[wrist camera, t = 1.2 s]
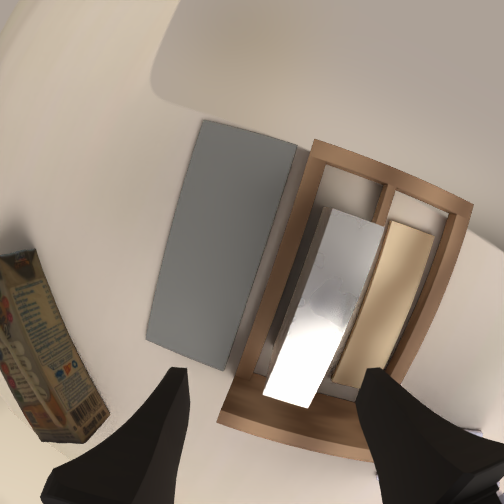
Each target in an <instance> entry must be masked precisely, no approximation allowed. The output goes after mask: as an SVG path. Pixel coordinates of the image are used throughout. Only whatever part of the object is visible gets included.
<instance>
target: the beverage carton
mask: <svg viewBox="0 0 504 504" xmlns="http://www.w3.org/2000/svg"><path fill="white" fill-rule="evenodd" d="M0 370H1V372H2V374H3V376H4V378H5V380H6V382H7V384H8V386H9V388H10V390H11V392H12V394H13V396H14V398H15V399H16V401H17V403H18V405H19V407H20V408H21V410H22V412H23V414H24V416H25V417H26V419H27V420H28V422H29V424H30V425H31V427H32V428H33V430H34V432H35V433H36V434H37V435H38V437H39V439H40V440H41V442H56V443H75V444H84V443H86V442H87V441H88V440H89V438H90V437H91V436H92V435H93V434H94V433H95V432H96V431H97V429H98V428H99V427H100V426H101V425H102V424H103V423H104V422H105V420H106V419H107V418H108V417H109V416H110V413H109V411H108V410H107V408H106V406H105V404H104V402H103V401H102V399H101V397H100V396H99V394H98V392H97V390H96V388H95V387H94V385H93V383H92V381H91V379H90V377H89V375H88V373H87V371H86V370H85V368H84V366H83V364H82V362H81V360H80V357H79V356H78V354H77V352H76V349H75V347H74V345H73V343H72V341H71V339H70V336H69V334H68V332H67V329H66V327H65V325H64V323H63V320H62V318H61V316H60V313H59V311H58V308H57V306H56V303H55V301H54V298H53V296H52V293H51V290H50V288H49V285H48V282H47V280H46V277H45V275H44V272H43V270H42V267H41V264H40V261H39V258H38V255H37V252H36V249H31V250H21V251H16V252H14V253H10V254H4V255H0Z"/></svg>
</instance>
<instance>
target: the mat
mask: <svg viewBox="0 0 504 504" xmlns="http://www.w3.org/2000/svg"><path fill="white" fill-rule="evenodd" d="M296 149H297V145H296V144H292V143H289V142H286V141H282V140H279V139H276V138H272V137H269V136H265V135H262V134H258V133H254V132H251V131H247V130H243V129H239V128H235V127H232V126H228V125H224V124H219V123H215V122H211V121H207V120H203V123H202V126H201V129H200V132H199V135H198V138H197V141H196V145H195V148H194V151H193V154H192V157H191V160H190V164H189V167H188V170H187V173H186V177H185V180H184V183H183V187H182V190H181V194H180V197H179V201H178V204H177V208H176V211H175V215H174V219H173V222H172V226H171V230H170V234H169V237H168V241H167V245H166V249H165V253H164V257H163V261H162V265H161V269H160V274H159V278H158V282H157V287H156V291H155V296H154V300H153V305H152V309H151V314H150V319H149V324H148V329H147V334H146V340H148V341H150V342H152V343H155V344H157V345H159V346H161V347H164V348H166V349H168V350H171V351H173V352H175V353H178V354H180V355H183V356H185V357H188V358H190V359H193V360H195V361H198V362H200V363H203V364H205V365H208V366H210V367H213V368H216V369H218V370H221V371H224V369H225V366H226V363H227V360H228V357H229V354H230V351H231V348H232V345H233V342H234V339H235V336H236V333H237V330H238V327H239V324H240V321H241V318H242V315H243V312H244V309H245V306H246V303H247V300H248V297H249V294H250V291H251V288H252V285H253V282H254V279H255V276H256V273H257V270H258V267H259V264H260V261H261V258H262V255H263V252H264V249H265V246H266V243H267V239H268V236H269V233H270V230H271V227H272V224H273V221H274V218H275V215H276V212H277V209H278V206H279V202H280V199H281V196H282V193H283V190H284V187H285V184H286V181H287V178H288V174H289V171H290V168H291V165H292V162H293V159H294V156H295V152H296Z"/></svg>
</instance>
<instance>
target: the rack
mask: <svg viewBox="0 0 504 504" xmlns="http://www.w3.org/2000/svg"><path fill="white" fill-rule="evenodd" d="M326 164H327V165H330V166H333V167H336V168H338V169H341V170H344V171H347V172H350V173H352V174H355V175H358V176H361V177H363V178H366V179H368V180H371V181H374V182H376V183H379V184H381V185H383V188H382V191H381V194H380V197H379V201H378V204H377V207H376V210H375V213H374V216H373V219H372V223H375V224H378V225H380V226H383V227H384V225H385V222H386V219H387V216H388V212H389V209H390V206H391V203H392V200H393V196H394V193H395V190H396V191H399V192H401V193H404V194H406V195H408V196H411V197H413V198H416V199H418V200H420V201H423V202H425V203H427V204H430V205H432V206H434V207H436V208H438V209H441V210H443V211H445V212H447V213H449V215H448V218H447V222H446V225H445V228H444V231H443V234H442V237H441V240H440V243H439V246H438V249H437V252H436V255H435V258H434V261H433V263H432V266H431V269H430V272H429V274H428V277H427V279H426V282H425V285H424V287H423V290H422V292H421V295H420V297H419V299H418V302H417V304H416V306H415V309H414V311H413V313H412V316H411V318H410V320H409V322H408V325H407V327H406V329H405V331H404V333H403V335H402V338H401V340H400V342H399V344H398V346H397V348H396V350H395V352H394V354H393V356H392V358H391V360H390V362H389V364H388V366H387V368H386V370H385V372H386V373H387V374H389V375H390V376H391V377H392V378H393V379H394V380H395V381H396V382H397V383H399V384H401V382H402V380H403V379H404V377H405V375H406V373H407V371H408V369H409V367H410V366H411V364H412V362H413V360H414V358H415V356H416V354H417V352H418V350H419V348H420V346H421V344H422V342H423V340H424V338H425V336H426V334H427V332H428V329H429V327H430V325H431V323H432V321H433V318H434V316H435V314H436V312H437V309H438V307H439V305H440V302H441V300H442V297H443V295H444V292H445V290H446V287H447V285H448V282H449V280H450V277H451V274H452V272H453V269H454V266H455V264H456V261H457V258H458V255H459V252H460V249H461V246H462V243H463V240H464V237H465V234H466V230H467V227H468V224H469V220H470V217H471V213H472V209H473V205H474V204H471V203H470V202H468V201H466V200H464V199H462V198H460V197H457V196H455V195H454V194H451V193H449V192H447V191H445V190H443V189H441V188H439V187H437V186H435V185H432V184H430V183H428V182H426V181H424V180H421V179H419V178H417V177H414V176H412V175H410V174H407V173H405V172H403V171H400V170H398V169H396V168H393V167H391V166H388V165H385V164H383V163H381V162H378V161H375V160H373V159H370V158H368V157H365V156H362V155H360V154H357V153H354V152H352V151H349V150H346V149H343V148H340V147H338V146H335V145H332V144H329V143H326V142H323V141H319V140H317V139H314V142H313V145H312V148H311V151H310V155H309V158H308V161H307V164H306V167H305V170H304V173H303V177H302V180H301V183H300V186H299V189H298V192H297V195H296V198H295V201H294V205H293V208H292V211H291V214H290V217H289V220H288V223H287V226H286V229H285V232H284V235H283V238H282V241H281V244H280V247H279V250H278V253H277V256H276V259H275V262H274V265H273V268H272V271H271V274H270V277H269V280H268V283H267V286H266V289H265V291H264V294H263V297H262V300H261V303H260V306H259V309H258V312H257V315H256V317H255V320H254V323H253V326H252V329H251V332H250V335H249V337H248V340H247V343H246V346H245V349H244V352H243V354H242V357H241V360H240V363H239V366H238V368H237V371H236V374H235V377H234V379H233V382H232V384H231V386H230V389H229V391H228V394H227V396H226V399H225V401H224V403H223V406H222V408H221V411H220V413H219V416H218V419H217V423H219V424H222V425H225V426H228V427H231V428H234V429H237V430H240V431H243V432H246V433H249V434H252V435H255V436H259V437H262V438H265V439H269V440H272V441H276V442H279V443H283V444H287V445H290V446H294V447H298V448H302V449H306V450H310V451H315V452H319V453H324V454H328V455H333V456H338V457H343V458H348V459H354V460H360V461H366V462H372V463H374V461H373V458H372V455H371V453H370V450H369V447H368V445H367V442H366V439H365V436H364V434H363V431H362V428H361V425H360V422H359V418H358V414H357V409H356V404H355V402H351V401H347V400H343V399H339V398H335V397H332V396H328V395H324V394H321V393H317V392H316V393H315V395H314V397H313V399H312V401H311V403H310V405H309V407H308V408H305V407H302V406H298V405H295V404H292V403H288V402H285V401H282V400H278V399H275V398H272V397H269V396H266V395H263V390H264V386H265V382H266V377H265V376H262V375H259V374H256V373H253V371H254V369H255V366H256V363H257V361H258V358H259V356H260V353H261V350H262V348H263V345H264V342H265V340H266V337H267V334H268V332H269V329H270V326H271V324H272V321H273V318H274V315H275V313H276V310H277V307H278V304H279V302H280V299H281V296H282V293H283V291H284V288H285V285H286V282H287V279H288V276H289V274H290V271H291V268H292V265H293V262H294V259H295V256H296V253H297V251H298V248H299V245H300V242H301V239H302V236H303V233H304V230H305V227H306V224H307V221H308V218H309V215H310V212H311V209H312V206H313V203H314V200H315V197H316V193H317V190H318V187H319V184H320V181H321V178H322V175H323V171H324V168H325V165H326Z"/></svg>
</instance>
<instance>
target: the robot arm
mask: <svg viewBox="0 0 504 504" xmlns="http://www.w3.org/2000/svg"><path fill="white" fill-rule="evenodd" d="M355 404H356V409H357V414H358V418H359V422H360V425H361V428H362V431H363V434H364V436H365V439H366V442H367V445H368V447H369V450H370V453H371V455H372V458H373V461H374V464H375V467H376V470H377V476H376V479H377V480H378V481H379V484H380V489H381V495H382V501H383V504H504V493H502V492H501V490H499V484H500V482H499V481H500V479H501V478H502V477H503V476H504V444H503V443H500V442H496V441H492V440H488V439H485V438H483V437H482V436H483V433H482V432H481V431H473V430H464V429H461V428H459V427H457V426H455V425H454V424H452V423H450V422H448V421H447V420H445V419H443V418H442V417H440V416H439V415H437V414H436V413H434V412H433V411H431V410H430V409H429V408H427V407H426V406H425V405H423V404H422V403H421V402H420V401H418V400H417V399H416V398H415V397H413V396H412V395H411V394H410V393H409V392H408V391H406V390H405V389H404V388H403V387H402V386H401V385H400V384H399V383H397V382H396V381H395V380H394V379H393V378H392V377H391V376H390V375H389V374H387V373H386V372H385V371H384V370H383V369H382V368H380V367H376V368H367V369H366V372H365V376H364V379H363V382H362V384H361V387H360V390H359V393H358V396H357V399H356V402H355ZM189 411H190V396H189V385H188V374H187V368H178V367H171V368H170V369H169V370H168V371H167V373H166V375H165V376H164V378H163V379H162V380H161V382H160V383H159V385H158V386H157V387H156V389H155V390H154V391H153V393H152V394H151V395H150V396H149V398H148V399H147V400H146V401H145V402H144V404H143V405H142V406H141V407H140V408H139V409H138V410H137V411H136V412H135V413H134V415H133V416H132V417H131V418H130V419H129V420H128V421H127V422H126V423H125V424H123V425H122V426H121V427H120V428H119V429H118V430H117V431H116V432H114V433H113V434H112V435H111V436H109V437H108V438H107V439H105V440H104V441H103V442H101V443H100V444H99V445H97V446H96V447H94V448H92V449H91V450H89V451H87V452H86V453H84V454H83V455H81V456H79V457H77V458H75V459H73V460H71V461H69V462H67V463H65V464H63V465H61V466H58V467H56V468H54V469H53V470H52V472H51V474H50V475H49V477H48V479H47V481H46V483H45V486H44V488H43V491H42V493H41V496H40V498H41V501H42V503H43V504H174V496H175V486H176V477H177V471H178V466H179V462H180V457H181V453H182V449H183V445H184V440H185V436H186V432H187V427H188V420H189Z"/></svg>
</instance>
